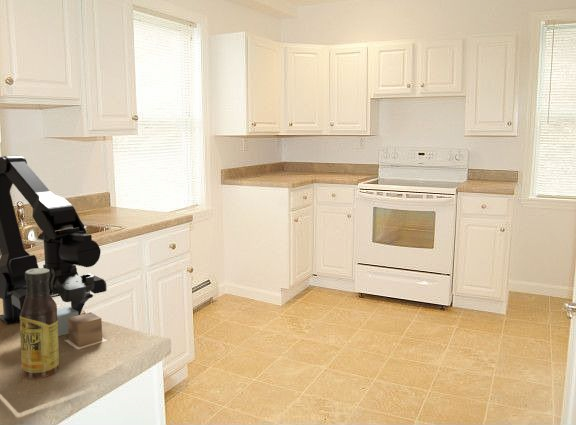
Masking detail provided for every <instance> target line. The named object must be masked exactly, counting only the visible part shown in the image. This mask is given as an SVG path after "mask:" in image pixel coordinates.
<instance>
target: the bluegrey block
mask: <svg viewBox="0 0 576 425" xmlns="http://www.w3.org/2000/svg"><path fill="white" fill-rule="evenodd" d="M74 316H78V311H76V310H75V309H73V308H71V306H62V307H61V308H57V318H58V337H60V336H64V335H69V331H68V318H70V317H74Z"/></svg>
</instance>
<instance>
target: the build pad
mask: <svg viewBox="0 0 576 425" xmlns="http://www.w3.org/2000/svg"><path fill="white" fill-rule="evenodd" d="M107 341H108V340H107V339H105V338H104V337H102V341H99V342H96V343H92V344H89V345H85V346H82V347H78V346H77V345H75V344H74V343H72V342H71V341H69V338H68V339H64V342H66V343H67V344H69V346H72V347H73V348H74V349H76V350H81V349H83V348H87V347H91V346H94V345H97V344H100V343H104V342H107Z"/></svg>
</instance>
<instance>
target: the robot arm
mask: <svg viewBox="0 0 576 425" xmlns="http://www.w3.org/2000/svg"><path fill="white" fill-rule="evenodd" d="M13 186H14V187H15V188H16V189H17V190H18V192H19V193H20V194H21V195H22V196H23V197H24V199H25V200H26V201H27V203H28V204H29V205H30V207H31V208H32V218H33V219H34V222H35V223H36V225H37V226H38V228H39V229H40V230H41V231H42V232H41V233H39V235H38V236H37V239H38V240H42V241H43V249H44V250H43V252H44V264H43V267H42V268H45V269H49V270H50V278H49V289H50V295H51V297H52V298H56V297H60V299H61V300H62V302H64V303H70V307H71V308H73V309H75V310H76V311H78V315H82V314H81V313H82V312H83V308H84V307H85V304H86V303H87V302H88V300H89V299H92V298H93V297H94V295H95V294H96V295H97V294H100V293H104V292H107V290H108V287H107V282H106V280H105V279H104V278H101V277H99V276H96V275H93V274H92V273H86V274H80V275H79V273H78V270H77V266H79V267H84V268H92V267H94V265H96V264H97V262H99V261H100V260H99V259H100V257H101V248H100V245H99V244H98V243H97V241H95V240H93V239H92V238H93V236H92V234H90V233H87V230H86V228H85V225H84V223H83V221H82V220H81V218H80V216H79V215H78V212H77V211H76V209H75V207H74V206H73V205H72V204H71V203H70V202H69V201H68V200H67V199H65V198H64V197H61V196H59V195H56V194H54V193H53V192H52V191H51V190H49V188H48V187H47V186H46V184H45V183H44V182H43V181H42V180H41V179H40V177H39V176H38V175H37V174H36V173H35V171H33V169H32V168H31V167H30V166H29V165H28V162H27V159H26V158H25V157H24V156H21V155H3V156H0V255H1V257H0V299H1V300H2V310H3V314H0V320H1V321H3V322H4V323H5V324H7V325H9V324H13V323H17V322H19V323H20V313H21V310H22V307H23V304H24V300H25V297H26V292H27V288H26V280H25V272H26V271H27V270H30V269H35V268H40V266H39V264H38V260H37V256H36V254H30V253H29V252H28V251H27V250H26V249H25V247H24V246H25V245H24V242H23V238H22V235H21V234H22V233H21V231H20V226H19V222H18V219H17V215H16V211H15V208H14V203H13V199H12V198H13V197H12V196H11V189H12V188H13ZM92 293H93V294H92Z"/></svg>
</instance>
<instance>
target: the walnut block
mask: <svg viewBox="0 0 576 425" xmlns="http://www.w3.org/2000/svg"><path fill="white" fill-rule="evenodd" d="M102 323H103V322H102V317H100V316H99V315H96V314H94V313H93V312H91V311H90V312H87V313H82V314H80V315H78V316H74V317H70V318H68V331H69V333H68V339H69V341H71V342H72V343H74V344H75V345H77V346H78V347H82V346H85V345H89V344H92V343H96V342H99V341H102V338H103V325H102Z"/></svg>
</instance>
